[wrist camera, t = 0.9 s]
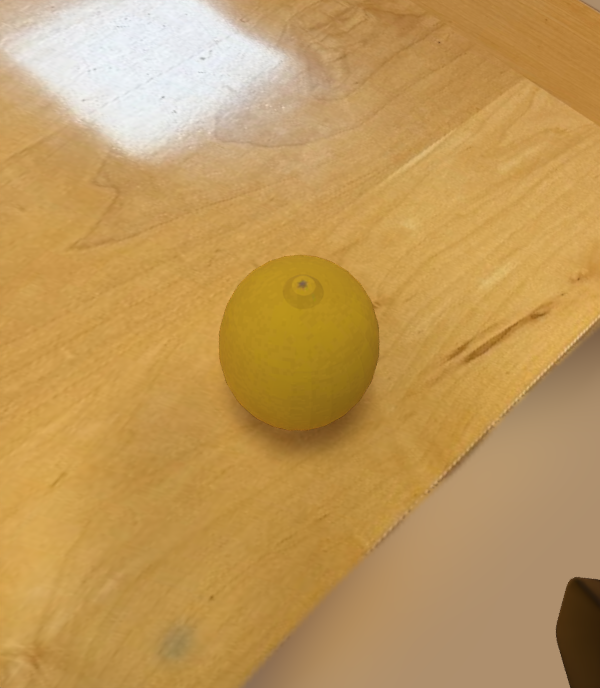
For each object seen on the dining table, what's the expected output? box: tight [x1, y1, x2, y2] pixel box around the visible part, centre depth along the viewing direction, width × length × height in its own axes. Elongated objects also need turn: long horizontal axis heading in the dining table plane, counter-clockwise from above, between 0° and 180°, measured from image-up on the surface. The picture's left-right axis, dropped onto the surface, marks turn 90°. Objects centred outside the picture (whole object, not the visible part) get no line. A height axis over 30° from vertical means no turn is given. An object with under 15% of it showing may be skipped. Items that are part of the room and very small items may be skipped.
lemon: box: [219, 255, 379, 430], centre depth 20 cm, size 6×6×8 cm
